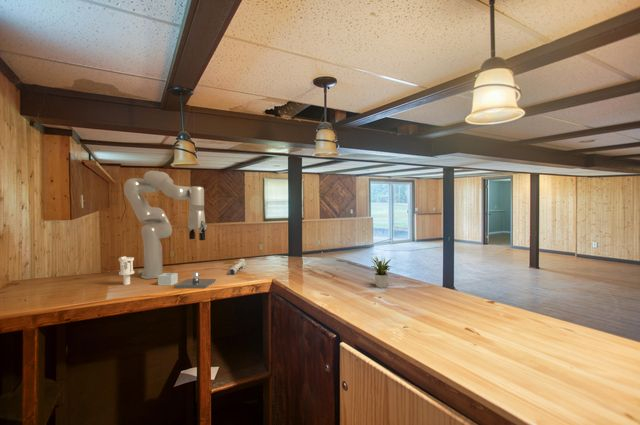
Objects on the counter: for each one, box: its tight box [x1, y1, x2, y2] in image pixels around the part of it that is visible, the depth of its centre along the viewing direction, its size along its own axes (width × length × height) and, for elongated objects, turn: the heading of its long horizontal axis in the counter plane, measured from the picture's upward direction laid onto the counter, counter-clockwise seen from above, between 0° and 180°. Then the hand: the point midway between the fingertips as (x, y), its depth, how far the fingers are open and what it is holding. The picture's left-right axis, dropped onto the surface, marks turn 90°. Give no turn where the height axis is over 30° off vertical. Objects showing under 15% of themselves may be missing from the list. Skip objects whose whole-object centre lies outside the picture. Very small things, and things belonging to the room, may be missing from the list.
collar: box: [157, 272, 179, 286], centre depth 169 cm, size 7×7×5 cm
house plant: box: [367, 254, 393, 289], centre depth 160 cm, size 14×14×16 cm
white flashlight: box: [227, 258, 247, 276], centre depth 203 cm, size 5×7×25 cm
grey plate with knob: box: [173, 271, 217, 289], centre depth 166 cm, size 16×14×6 cm
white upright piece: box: [118, 255, 135, 286], centre depth 169 cm, size 7×7×15 cm
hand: (197, 239), depth 176 cm, fingers open, 9 cm apart
